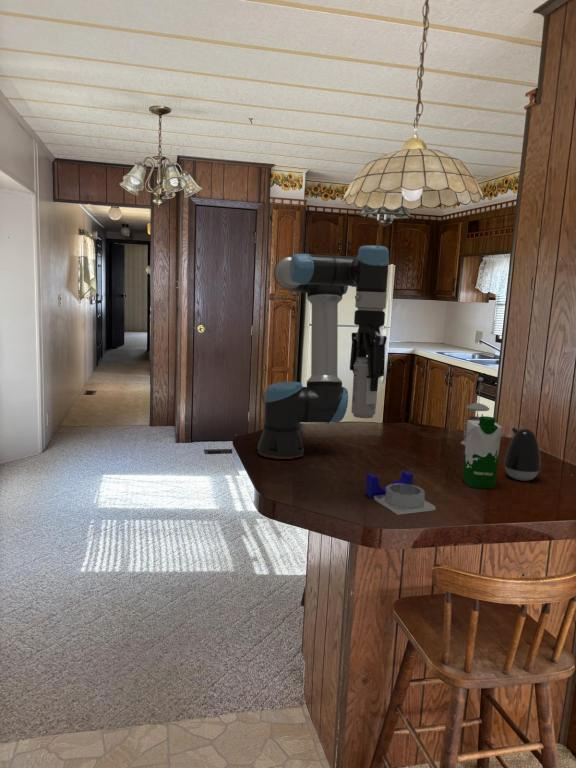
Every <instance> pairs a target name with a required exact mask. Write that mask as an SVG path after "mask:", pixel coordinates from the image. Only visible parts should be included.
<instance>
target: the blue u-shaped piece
mask: <svg viewBox="0 0 576 768" xmlns="http://www.w3.org/2000/svg"><path fill="white" fill-rule="evenodd" d="M413 477H414V474H413V473H412V472H409V471H407V470H404V471H401V476H400V477H399V480H394V481H393V482H392V483H391V484H396V483H402V484H410V485H413V479H414V478H413ZM365 485H366V487H365V488H366V489H365V495H366V496H367V495H368V496H369V497H370V498H369V497H368V496H367V497H368V498H369V499H371V498H374V497H373V496H377V495H385V493H386V486H387V485H386V486H383V487H381V485H380V484H379V477H378V476H377V475H376V474H374V473H367V474H366V484H365Z"/></svg>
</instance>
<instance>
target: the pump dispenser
mask: <svg viewBox="0 0 576 768" xmlns="http://www.w3.org/2000/svg"><path fill="white" fill-rule="evenodd" d="M511 431H512V432H513V433H514V435H513V437H512V438H511V440H510V443H509V444H508V447H507V449H506V453H505V456H504V460H503V465H504V468H505V472H506V473H507V475H508V476H509V477H510V478H512V479H514V480H516V481H521V482H522V481H523V482H525V481H532V480H534V479H535V478H536V477H537V476H538V474H539V471H540V470H541V468H542V467H541V466H542V465H541V464H542V462H541V452H540V447H539V442H538V438H537V437H536V435H535V433H534V432H533V431H532V430H530V429H528V428H522V429H519V430H518V429H517V428H515V427H513V428H512V429H511Z"/></svg>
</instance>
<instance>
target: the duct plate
mask: <svg viewBox="0 0 576 768" xmlns="http://www.w3.org/2000/svg"><path fill="white" fill-rule="evenodd" d="M425 494H426V492H425V489H423V488H421V487H420V486H418V485H414V484H412V485H410V484H402V483H396V484H392V483H390V484H388V485H386V493H385V495H377V496H374V499H373V500H374V501H376V502H377V503H379V504H380V505H382V506H383V507H385V508H387V509H388V510H390V511H391V512H392V513H394V514H396V515H397V516H400V515H408V514H417V513H424V512H431V511H436V505H434V504H432V503H430V502H429V501H427V500H425V498H426V497H425V496H426V495H425Z"/></svg>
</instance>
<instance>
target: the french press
mask: <svg viewBox="0 0 576 768" xmlns="http://www.w3.org/2000/svg"><path fill="white" fill-rule="evenodd" d="M477 380H478V381H480V382H479V388H481V385H482V381H484V378H483V377H478V379H477ZM480 394H481V389H479V390H478V398H481V397H480V396H481V395H480ZM466 409H468V410H471V411H477V413H476V416H475V415H474V416H473V415H471V416H466V419H467V420H475V421H480V417H481V416H484V413H481V416H479V412H488V411H489V410H490V407H489V406H488V405H485V404H483V403H480V399H478V402H476V403H474V402H473V403H470V404H468V405H466ZM467 420H466V421H465V424H464V425H465V426H464V435H463V440H461V442H460V444H462V445H464V446H465V444H466V433H467Z"/></svg>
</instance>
